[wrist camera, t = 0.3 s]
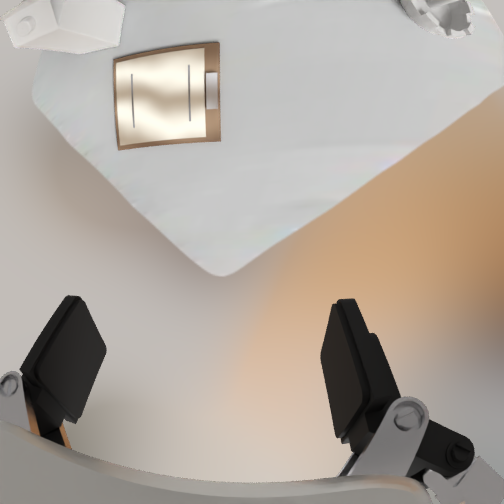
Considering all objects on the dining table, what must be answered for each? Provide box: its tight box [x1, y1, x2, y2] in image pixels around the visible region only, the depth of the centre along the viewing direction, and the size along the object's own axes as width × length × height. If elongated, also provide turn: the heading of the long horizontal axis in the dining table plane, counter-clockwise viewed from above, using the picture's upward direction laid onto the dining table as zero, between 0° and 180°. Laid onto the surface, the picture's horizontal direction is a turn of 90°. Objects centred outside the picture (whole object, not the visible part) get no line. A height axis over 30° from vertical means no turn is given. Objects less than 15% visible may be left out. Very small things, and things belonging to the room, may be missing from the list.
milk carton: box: [0, 0, 126, 54], centre depth 17 cm, size 7×7×19 cm
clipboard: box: [114, 43, 221, 150], centre depth 31 cm, size 14×15×1 cm
